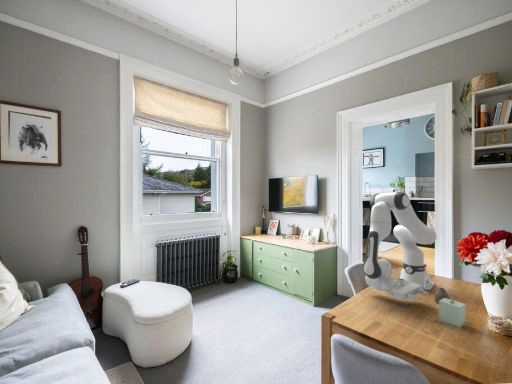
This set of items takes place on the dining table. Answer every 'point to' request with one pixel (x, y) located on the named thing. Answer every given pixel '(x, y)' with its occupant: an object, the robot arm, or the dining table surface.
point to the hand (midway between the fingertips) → (422, 296)
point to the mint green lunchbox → (452, 312)
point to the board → (452, 325)
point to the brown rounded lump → (440, 295)
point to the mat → (403, 305)
